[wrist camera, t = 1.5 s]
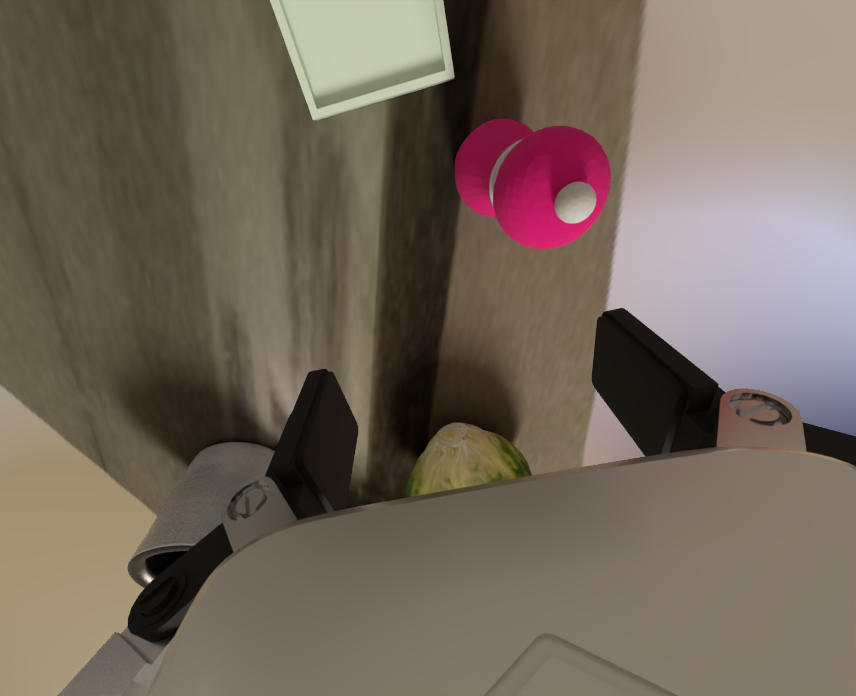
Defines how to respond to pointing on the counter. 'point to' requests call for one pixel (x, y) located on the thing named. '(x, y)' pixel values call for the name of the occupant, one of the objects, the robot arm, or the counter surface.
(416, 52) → the tray
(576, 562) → the robot arm
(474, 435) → the lettuce
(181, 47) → the counter surface
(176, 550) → the planter
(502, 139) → the pepper mill
